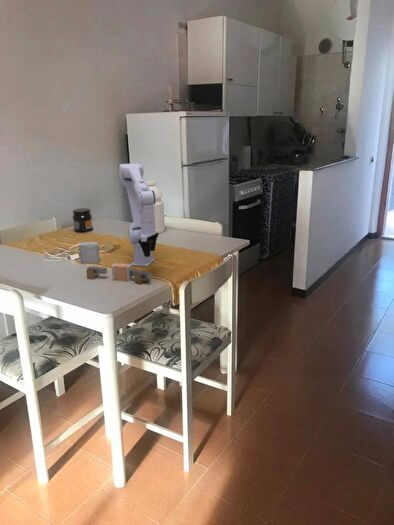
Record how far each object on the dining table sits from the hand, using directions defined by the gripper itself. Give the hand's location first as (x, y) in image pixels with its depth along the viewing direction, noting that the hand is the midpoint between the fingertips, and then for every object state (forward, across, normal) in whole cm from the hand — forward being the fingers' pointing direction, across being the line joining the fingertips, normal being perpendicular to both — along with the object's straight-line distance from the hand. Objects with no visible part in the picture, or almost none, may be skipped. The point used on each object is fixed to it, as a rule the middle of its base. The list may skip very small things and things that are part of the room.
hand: (149, 253), depth 173 cm
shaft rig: (+9, +7, -11) cm, 16 cm away
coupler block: (+9, +7, -10) cm, 15 cm away
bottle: (+9, -64, -16) cm, 66 cm away
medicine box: (+9, -12, -31) cm, 35 cm away
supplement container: (+9, -63, -56) cm, 85 cm away
